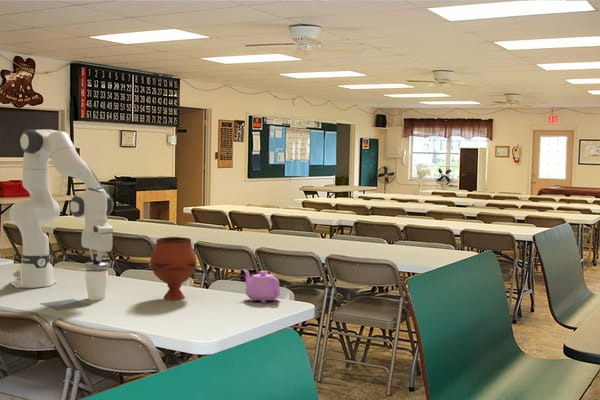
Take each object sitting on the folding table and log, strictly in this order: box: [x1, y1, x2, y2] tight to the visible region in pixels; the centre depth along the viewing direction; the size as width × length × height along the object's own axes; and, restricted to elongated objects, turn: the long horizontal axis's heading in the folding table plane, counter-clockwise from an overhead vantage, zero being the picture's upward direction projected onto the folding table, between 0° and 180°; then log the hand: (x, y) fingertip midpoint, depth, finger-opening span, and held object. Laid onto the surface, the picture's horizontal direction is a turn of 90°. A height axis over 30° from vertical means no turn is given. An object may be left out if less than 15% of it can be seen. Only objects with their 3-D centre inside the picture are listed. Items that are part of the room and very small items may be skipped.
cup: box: [84, 268, 109, 301], centre depth 289 cm, size 9×9×12 cm
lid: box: [83, 253, 110, 269], centre depth 289 cm, size 10×10×5 cm
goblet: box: [149, 236, 197, 301], centre depth 292 cm, size 19×19×25 cm
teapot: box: [242, 268, 281, 304], centre depth 290 cm, size 20×14×12 cm
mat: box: [39, 298, 91, 311], centre depth 277 cm, size 16×14×1 cm
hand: (96, 260), depth 289 cm, fingers closed on lid, 3 cm apart
